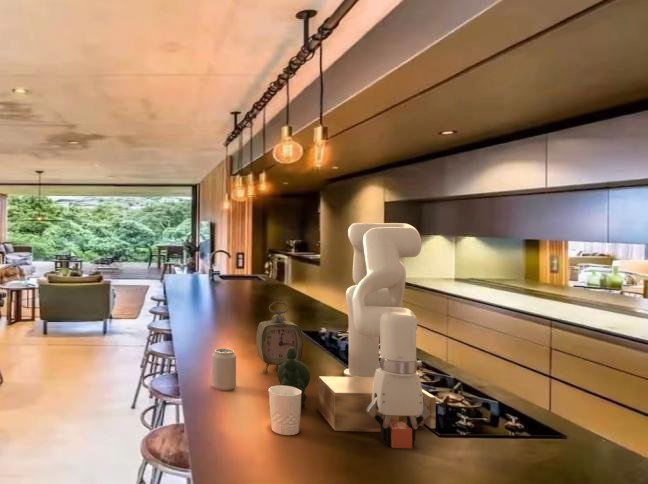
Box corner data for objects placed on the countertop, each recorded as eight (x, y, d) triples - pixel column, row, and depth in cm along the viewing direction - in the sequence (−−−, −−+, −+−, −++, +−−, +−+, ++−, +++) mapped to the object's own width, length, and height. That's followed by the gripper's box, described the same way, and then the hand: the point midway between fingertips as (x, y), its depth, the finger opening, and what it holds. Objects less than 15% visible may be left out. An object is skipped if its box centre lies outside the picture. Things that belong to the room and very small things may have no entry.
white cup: (301, 426, 123) (301, 387, 123) (301, 438, 115) (301, 397, 115) (270, 422, 125) (270, 384, 125) (267, 434, 118) (267, 393, 118)
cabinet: (375, 411, 132) (375, 377, 132) (398, 432, 119) (398, 393, 119) (318, 410, 133) (318, 376, 133) (334, 430, 120) (334, 392, 120)
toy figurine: (309, 424, 128) (310, 387, 151) (309, 355, 126) (310, 329, 149) (272, 420, 131) (279, 384, 154) (272, 352, 129) (279, 327, 153)
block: (402, 440, 114) (403, 421, 114) (412, 448, 110) (412, 429, 110) (383, 439, 115) (383, 420, 115) (392, 448, 110) (392, 428, 110)
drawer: (426, 410, 131) (426, 382, 131) (453, 428, 119) (453, 397, 119) (357, 409, 132) (357, 380, 132) (376, 427, 120) (376, 396, 120)
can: (235, 384, 157) (235, 347, 157) (237, 391, 149) (237, 353, 149) (212, 383, 157) (212, 347, 157) (212, 391, 150) (212, 352, 150)
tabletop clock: (261, 375, 167) (261, 303, 167) (255, 367, 176) (255, 299, 176) (302, 375, 167) (302, 303, 167) (294, 367, 176) (294, 299, 176)
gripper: (426, 361, 116) (426, 437, 116) (354, 360, 116) (354, 435, 116) (444, 370, 108) (443, 451, 108) (367, 369, 109) (367, 449, 109)
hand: (397, 442), depth 112 cm, fingers closed on block, 4 cm apart
